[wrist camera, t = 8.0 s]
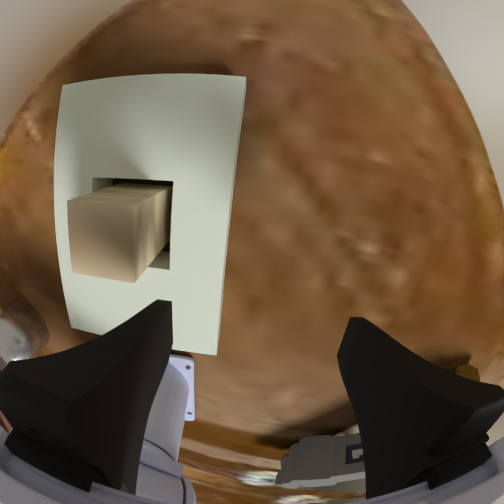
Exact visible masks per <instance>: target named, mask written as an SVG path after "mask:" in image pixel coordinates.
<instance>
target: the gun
mask: <svg viewBox="0 0 504 504" xmlns="http://www.w3.org/2000/svg"><path fill="white" fill-rule="evenodd" d="M455 374H457V375H459V376H462V377H465V378H468V379H472V380H475V381H479V382H480V378H479V373H478V369H477V368H475V367H473V366H471V365H469V364H464V365H460V366H458V367H457V368H456V369H455ZM281 467H282V468H281V470H280V471H279V472H278V474H277V476H276V481H275V485H276V486H280V487H283V488H292V489H294V488H298V487H299V486H302V487H316V486H329V485H334V484H336V483H337V482H342V481H349V480H356V479H361V478H365V466H364V456H363V449H362V443H361V437H360V433H356V434H348V435H345V436H335V437H333V436H331V435H311V436H307V437H304V438H302V439H300V441H299V443H296V444H293V445H292V446H290V449H289V452H288V454H284V455H283V456H282V458H281Z"/></svg>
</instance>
